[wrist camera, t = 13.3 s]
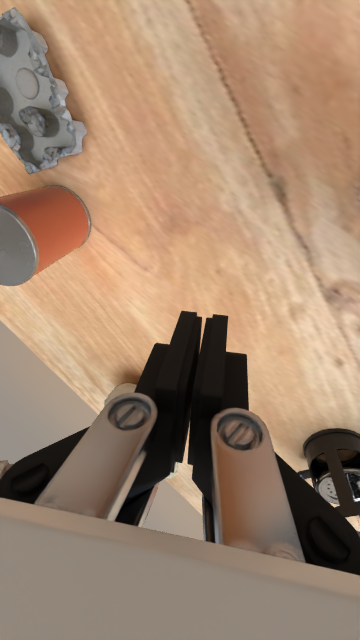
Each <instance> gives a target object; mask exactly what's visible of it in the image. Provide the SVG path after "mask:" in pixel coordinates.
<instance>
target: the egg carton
mask: <svg viewBox="0 0 360 640" xmlns="http://www.w3.org/2000/svg"><path fill="white" fill-rule="evenodd" d="M47 51H48V46H47V44H46V42H45V40H44V38H43V37H42V35H41V34H39V33H37V32H35V31H33V30H31V29H30V27H29V25H28V23H27V22H26V20H25V19H24V18H23V16H22V15H21V14H20V13H19V12H18V11H17V10H16V8H15V7H14V8H12V9H11V10H9V11H7V12H5V13H3V14H2V16H1V17H0V133H1V135H2V138H3V139H4V141H5V142H6V143H7V144H8V146H9V147H10V148H11V150H12V151H13V152H14V153H15V154H16V155H17V157H18V158H19V160H20V161H21V162H22V163H23V164H24V165H25V169H26V171H27V172H28V173H29V174H32V173H37V172H39V171H41V170H42V169H46V168H53V167H54V166H56V165H57V164H58V163H57V160H58V159H59V158H61V157H65V156H68V155H77V154H79V153H81V152H82V151H83V149H82V139H83V137H84V136H85V134H87V130H86V128H85V126H84V124H83V122H80V121H74V120H72V118H71V115H70V113H69V111H68V110H67V109H66V108H67V105H66V103H65V98H66V96H67V95H68V94H69V92H68V89H67V87H66V85H65V83H64V81H62V80H60V79H57V78H54V77H53V75H52V73H51V70H50V68H49V65H48V62H47V59H46V57H45V54H46V52H47Z"/></svg>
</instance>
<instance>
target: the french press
mask: <svg viewBox="0 0 360 640" xmlns="http://www.w3.org/2000/svg"><path fill="white" fill-rule="evenodd" d="M337 450H352V451H357V452H359V453H358V455H357V456H356V457H355V458H353V459H352V460H350V461H348V462H344V463H341V462H340V459H339V456H338V453H337ZM303 451H304V455H305V457H306V459H307V462H308V466H309V469H308V470H303V471H299V472H298V474H299V475H300V476H301V477H302V478H303V479H307V478H311V479H312V483H313V487H314V489H315V490H316V491H317V492H318V493H319V494H320V495H321V496H322V497H323V498H324V499H325V500H326V501H328V502H331V503H334V504H338V505H340V506H337V507H335V509H336V510H337V511H338V512H339V513H340V514H341V515H342V516H344V517H350V516H356V517H357V520H358V523H359V526H360V435H359V434H357V433H356V432H353V431H350V430H345V429H328V430H323V431H320V432H317V433H316V434H314V435H312V436H311V437H309V438H308V439H307V440H306V442H305V444H304V447H303ZM323 453H324V454H325V458H326V461H327V463H325V462H322V461H320V460H318V459H317V458H316V457H318V456H319V455H321V454H323ZM316 479H317V482H316Z"/></svg>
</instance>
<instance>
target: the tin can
mask: <svg viewBox="0 0 360 640" xmlns="http://www.w3.org/2000/svg"><path fill="white" fill-rule="evenodd" d="M90 231H91V219H90V215H89V212H88V210H87V207H86V206H85V204H84V202H83V201H82V200H81V199H80V198H79V196H78V195H76V194H75V193H74V192H72V191H71V190H69V189H67V188H65V187H62V186H57V185H52V186H46V187H43V188H39V189H35V190H30V191H25V192H21V193H16V194H11V195H7V196H2V197H0V285H4V286H16V285H20V284H23V283H25V282H26V281H28V280H29V279H31V278H32V277H33V276H34V275H36V274H38V273H39V272H41V271H42V270H44V269H45V268H47V267H48V266H50V265H51V264H53V263H54V262H56V261H57V260H59V259H61V258H62V257H64V256H65V255H67V254H68V253H70V252H71V251H73V250H74V249H76V248H78V247H80V246H81V245H83V244H84V243H85V242H86V240H87V239H88V237H89V235H90Z"/></svg>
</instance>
